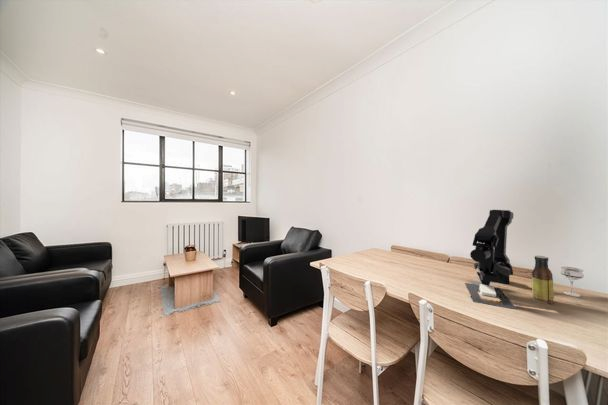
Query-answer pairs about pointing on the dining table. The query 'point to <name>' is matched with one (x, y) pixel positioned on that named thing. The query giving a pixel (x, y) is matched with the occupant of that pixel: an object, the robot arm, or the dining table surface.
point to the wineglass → (572, 277)
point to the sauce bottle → (542, 280)
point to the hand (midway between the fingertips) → (485, 289)
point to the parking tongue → (476, 282)
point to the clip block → (487, 290)
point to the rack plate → (476, 297)
